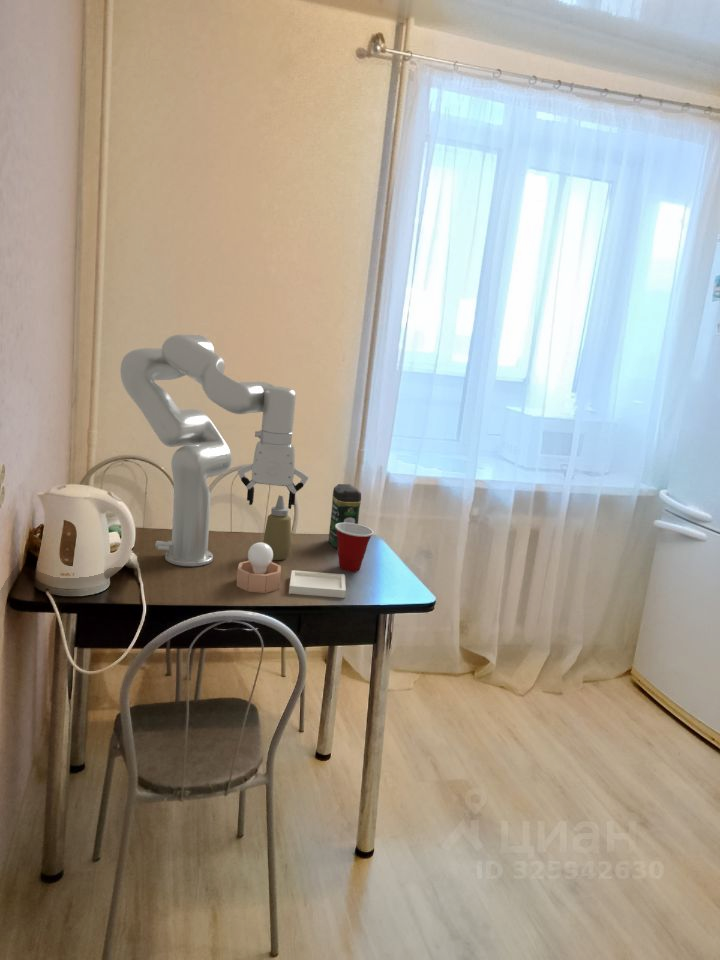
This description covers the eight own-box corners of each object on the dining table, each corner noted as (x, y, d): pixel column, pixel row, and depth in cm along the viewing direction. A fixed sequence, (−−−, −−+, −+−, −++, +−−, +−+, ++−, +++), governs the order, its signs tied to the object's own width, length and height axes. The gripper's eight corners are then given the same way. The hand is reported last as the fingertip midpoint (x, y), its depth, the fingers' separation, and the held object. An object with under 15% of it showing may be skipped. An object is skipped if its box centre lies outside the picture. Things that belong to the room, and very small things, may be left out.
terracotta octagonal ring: (234, 590, 178) (235, 573, 177) (239, 574, 188) (241, 558, 187) (277, 593, 179) (279, 576, 178) (280, 578, 189) (281, 561, 188)
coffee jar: (325, 539, 224) (330, 481, 220) (349, 539, 227) (355, 482, 223) (333, 550, 215) (339, 490, 211) (359, 550, 218) (365, 490, 214)
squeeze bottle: (292, 562, 201) (297, 500, 197) (263, 562, 199) (268, 499, 195) (288, 552, 209) (293, 492, 205) (260, 552, 207) (264, 491, 203)
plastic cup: (373, 576, 198) (377, 534, 195) (333, 574, 196) (338, 532, 193) (365, 562, 208) (370, 522, 205) (328, 560, 206) (332, 520, 203)
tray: (288, 593, 180) (289, 585, 179) (291, 577, 190) (291, 570, 190) (345, 597, 181) (345, 590, 180) (344, 581, 191) (344, 574, 191)
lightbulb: (273, 588, 182) (276, 547, 179) (248, 589, 180) (251, 547, 177) (267, 579, 188) (271, 538, 185) (243, 579, 185) (246, 539, 183)
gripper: (238, 437, 172) (233, 506, 176) (311, 444, 173) (304, 513, 177) (242, 431, 179) (237, 498, 183) (312, 439, 180) (305, 504, 184)
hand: (270, 505), depth 180 cm, fingers open, 9 cm apart
